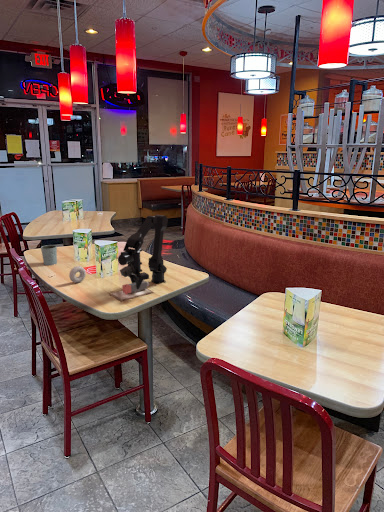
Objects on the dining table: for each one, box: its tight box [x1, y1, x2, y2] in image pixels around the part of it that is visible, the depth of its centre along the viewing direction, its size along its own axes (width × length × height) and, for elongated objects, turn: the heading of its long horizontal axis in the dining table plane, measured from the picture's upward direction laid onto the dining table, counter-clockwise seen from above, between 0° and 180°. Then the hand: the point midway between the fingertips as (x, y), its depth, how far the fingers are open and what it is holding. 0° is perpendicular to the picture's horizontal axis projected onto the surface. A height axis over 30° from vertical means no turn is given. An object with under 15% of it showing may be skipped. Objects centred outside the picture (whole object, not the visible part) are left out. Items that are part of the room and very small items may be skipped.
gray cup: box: [40, 244, 58, 266], centre depth 259 cm, size 10×10×12 cm
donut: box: [68, 265, 86, 284], centre depth 223 cm, size 10×4×10 cm, turn 133°
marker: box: [122, 280, 150, 294], centre depth 208 cm, size 15×4×4 cm, turn 128°
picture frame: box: [109, 287, 155, 302], centre depth 208 cm, size 20×13×1 cm, turn 128°
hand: (136, 287), depth 209 cm, fingers closed on marker, 4 cm apart
